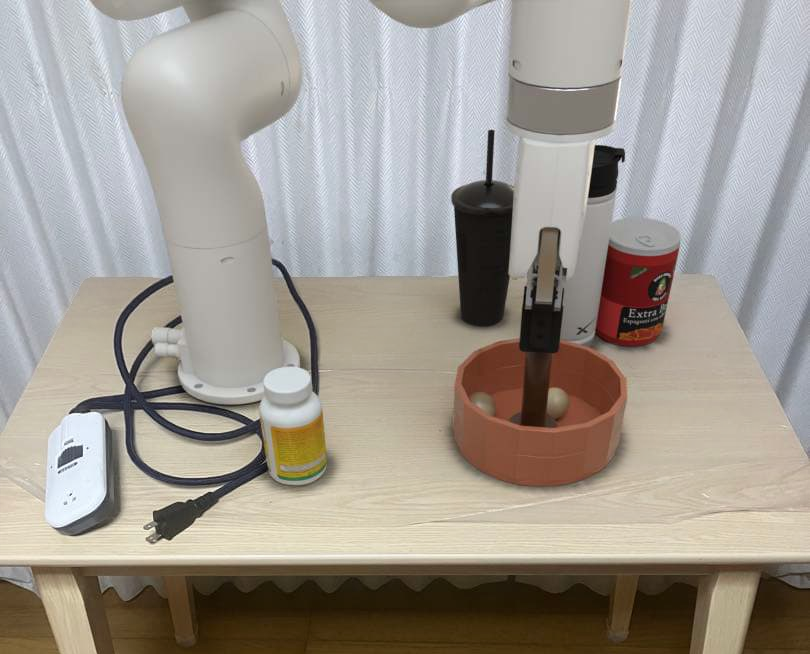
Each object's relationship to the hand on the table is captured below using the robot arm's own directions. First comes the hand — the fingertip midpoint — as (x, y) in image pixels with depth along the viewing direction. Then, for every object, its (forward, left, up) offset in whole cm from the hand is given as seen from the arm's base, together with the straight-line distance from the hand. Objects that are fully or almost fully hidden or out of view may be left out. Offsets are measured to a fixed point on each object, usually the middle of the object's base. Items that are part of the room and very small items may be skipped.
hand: (539, 339), depth 71 cm
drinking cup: (-7, +25, -12) cm, 28 cm away
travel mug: (+3, +21, -12) cm, 24 cm away
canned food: (+9, +24, -12) cm, 28 cm away
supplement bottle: (-21, -5, -12) cm, 24 cm away
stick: (0, 0, -9) cm, 9 cm away
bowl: (0, +3, -12) cm, 12 cm away
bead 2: (+2, +5, -10) cm, 11 cm away
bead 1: (-5, +4, -10) cm, 11 cm away
